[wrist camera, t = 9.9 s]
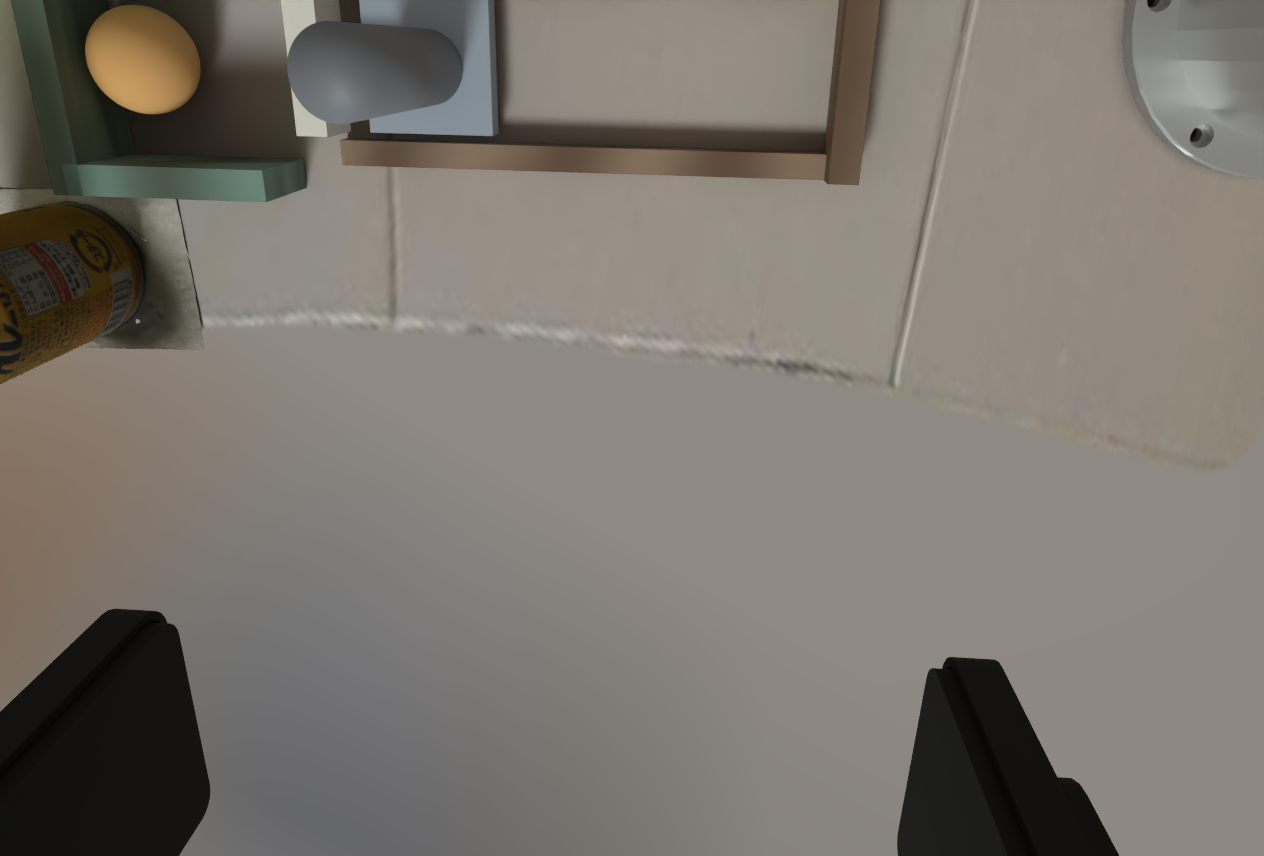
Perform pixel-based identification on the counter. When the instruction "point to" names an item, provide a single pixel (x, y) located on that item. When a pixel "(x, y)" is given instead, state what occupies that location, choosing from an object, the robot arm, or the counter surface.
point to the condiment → (91, 277)
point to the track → (831, 166)
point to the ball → (142, 59)
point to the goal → (119, 125)
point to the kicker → (393, 67)
